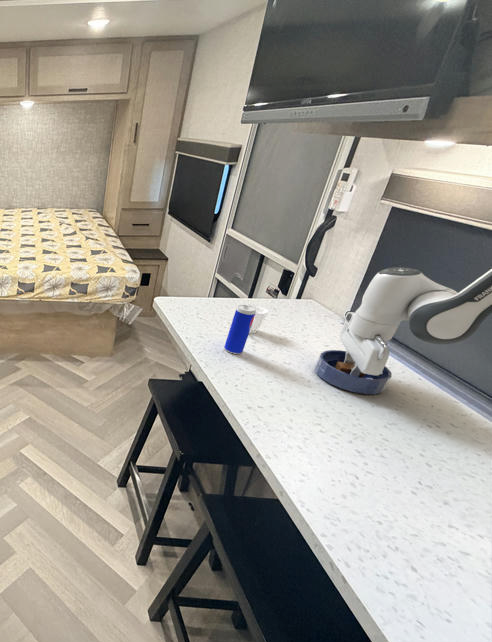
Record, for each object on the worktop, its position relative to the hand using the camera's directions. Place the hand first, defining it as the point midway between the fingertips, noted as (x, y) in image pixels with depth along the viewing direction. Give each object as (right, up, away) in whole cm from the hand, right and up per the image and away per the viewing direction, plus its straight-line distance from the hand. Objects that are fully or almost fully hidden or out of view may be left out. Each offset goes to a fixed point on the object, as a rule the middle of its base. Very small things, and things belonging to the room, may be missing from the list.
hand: (350, 370), depth 111 cm
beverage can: (-24, +5, +15) cm, 28 cm away
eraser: (0, -1, +1) cm, 2 cm away
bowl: (0, -3, +1) cm, 3 cm away
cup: (-12, +10, +26) cm, 30 cm away
